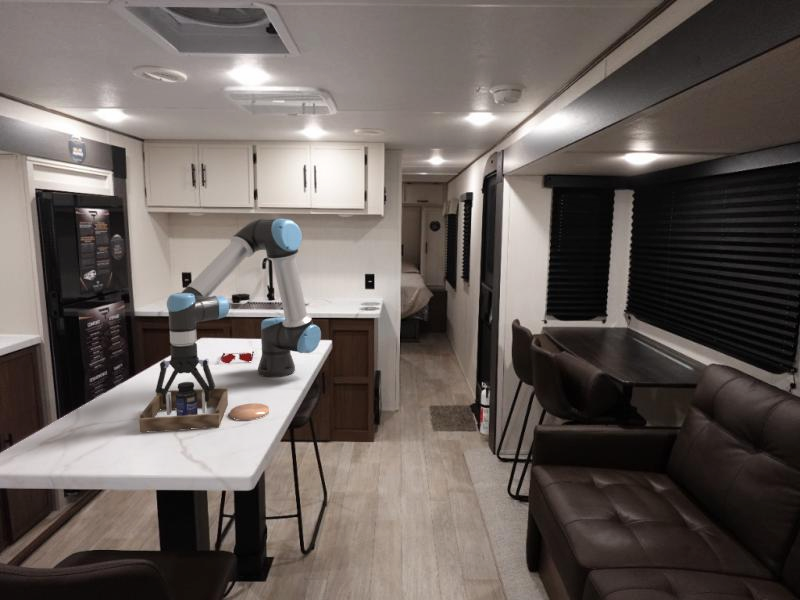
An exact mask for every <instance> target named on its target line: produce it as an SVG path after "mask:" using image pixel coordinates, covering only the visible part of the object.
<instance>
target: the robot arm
mask: <svg viewBox="0 0 800 600" xmlns="http://www.w3.org/2000/svg"><path fill="white" fill-rule="evenodd" d="M302 235H303V234H302V231H301V229H300V227H299V225H298V224H297V223H296V222H295V221H293V220H291V219H289V218H288V219H287V218H281V217H280V218H258V219H255V220H252V221H250V222H249V223H247V224H246V225H245V226H243V227H242V228H241V229H239V230H238V231H237V232H236V233H235V234H234V235H233V236H232V237H231V238H230V243H229V244H228V245H227V246H226V247H225V248H224V249H223V250H222V251H221V252H220V253H219V254H218V255H217V256H216V257H215V258H214V259H213V260H212V261H211V262H210V263H209V264H208V265H207V266H206V267H205V268H204V269H203V270H202V271H201V272H200V273H199V274H198V275H197V276H196V277H195V278H194V279H193V280H192V281H191V283H189V284H188V285H187V286H186V287H185V288H184V289H183V290H182V291H181V292H175V293H172V294H170V295H169V296H168V299H166V300H167V301H166V308H167V311H168V324H169V343H170V344H171V345H170V359H169V360H161V362H160V363H159V367H160V371H159V375H158V378H157V379H158V380H157V384H156V387H155V391H154V392H155V393H156V394H157V393H161V394H162V397H163V404H166V406H167V409H166V415H167V416H171V415H172V412H173V411H172V408H171V392H168V391H169V390H170V388H171V387H172V385H173V383H174V381H175V379H176V377H177V375H178V374H179V375H180V374H191V375H192V376H193V377H194V378H195V380H196V382H197V383H198V385H199V386H200V387H201V389H203V392H202V407H201V409H202V414H206V412H207V410H208V409H207V407H206V402H208V401H209V399H210V396H209V391H210V390H214V388H216V384H215V381H214V378H213V375H212V372H211V369H210V367H209V359H208V358H205V359H200V358H199V356H198V345H197V343H196V342H197V340H198V338H197V323H201V322H207V321H213V320H219V319H223V318H225V317H227V315H228V314H229V313H230V312H229V311H230V304H229V301H228V299H227V298H226V297H225V296H222V295H213V296H211V295H212V294H213V293H214V292H215V291H216V290H217V289H218V287H220V286H221V284H222V283H224V281H225V280H226V279H227V278H228V277H229V276H230V275H232V273H233V272H234V271H235V270H236V269H237V268H238V267H239V266H240V265H241V263H242V262H243V261H244V260H245V259H246V258H250V257H252V256H253V255H254V254H255V253H256V252H259V251H265V253H266V257H267V259H269V260H270V261H272V265H273V270H274V273H275V278H276V283H277V287H278V292H279V295H280V301H281V305H282V310H283V314H284V316H280V317H279V316H278V317H271V318H266V319H263V320H262V321H261V326H260V327H261V328H260V336H261V337H260V338H261V357H260V360H259V364H258V367H257V374H258V373H259V374H260V375H259V374H258V375H259V376H262V375H263V376H262V377H267V376H279V377H283V376H282V375H286V376H289V375H288V374H290V375H292V374H294V373H295V372H296V364H295V363H294V359H293V356H292V354H291V353H292V352H294V353H295V352H297V353H298V354H299V353H300V354H311V353H313V352H314V351H315V350H316V349H317V348H318V347H319V344H320V342H321V339H322V332H321V329H320V326H318V325H316V324H314V322H313V318H312V316H311V315H309V314H308V312H307V308H306V303H305V302H306V301H305V297H304V293H303V289H302V284H301V279H300V273H299V269H298V263H297V259H296V257H297V256H298V253H299V248H300V247H301V246H302V243H301V242H302V241H303V236H302ZM199 364H200V366H201V367H202V371H203V372H204V373H203V374H204V376H205V378H206V381H207V382H206V381H205V379H204V377H203V375H201V373H200V372H199V369H198V368H197V366H198V365H199ZM170 366H171V367H172V368H173V371H172V372H171V376H170V377H169V378H168V381H167V382H166V385H165V386H164V387H163V385H164V382H165V377H166V374H167V369H168V368H169V367H170ZM294 371H295V372H294ZM293 372H294V373H293ZM291 373H292V374H291Z"/></svg>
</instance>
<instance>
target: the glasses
mask: <svg viewBox="0 0 800 600" xmlns="http://www.w3.org/2000/svg"><path fill="white" fill-rule="evenodd" d="M253 353H254V354H255V352H254V351H252V353H251V352H245V353H242V352H237V353H236V352H235V353H234V352H233V353H232V352H231V353H227V354H226V353H225V352H223V353H222V355H221V356H220V361H221V362H222V363H223V364H226V363H229V364H230V363H231V362H232V361H234V360H236V357H237V356H236V355H238V359H239V360H240V361H244V362H247V363H250V362H249V361H251V362H252V361H253V358H254V354H253ZM224 355H225V356H224Z"/></svg>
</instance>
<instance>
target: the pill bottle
mask: <svg viewBox="0 0 800 600" xmlns="http://www.w3.org/2000/svg"><path fill="white" fill-rule="evenodd" d="M194 389H195V382H192V381H184V382H180V383H178V384H177V390H179V391H178V392H177V393H176V416H184V415H199V414H198V407H197V392H196V390H194Z"/></svg>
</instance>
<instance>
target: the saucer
mask: <svg viewBox="0 0 800 600" xmlns="http://www.w3.org/2000/svg"><path fill="white" fill-rule="evenodd" d="M229 411H230V412H229V413H230V418H231V417H232V418H231V419H233V418H235V419H234V420H236V419H240V420H239V421H251V420H250V419H255V420H257V419H256V418H259V419H261V418H260V417H262V418H264V417H266V416H267V414H268V415H269V414H270V413H269V412H270V407H269V406H268V405H267V404H263V403H256V402H255V403H246V404H245V403H244V404H240V405H237V406H234V407H233V408H231V410H229ZM265 415H266V416H265ZM263 416H264V417H263Z"/></svg>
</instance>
